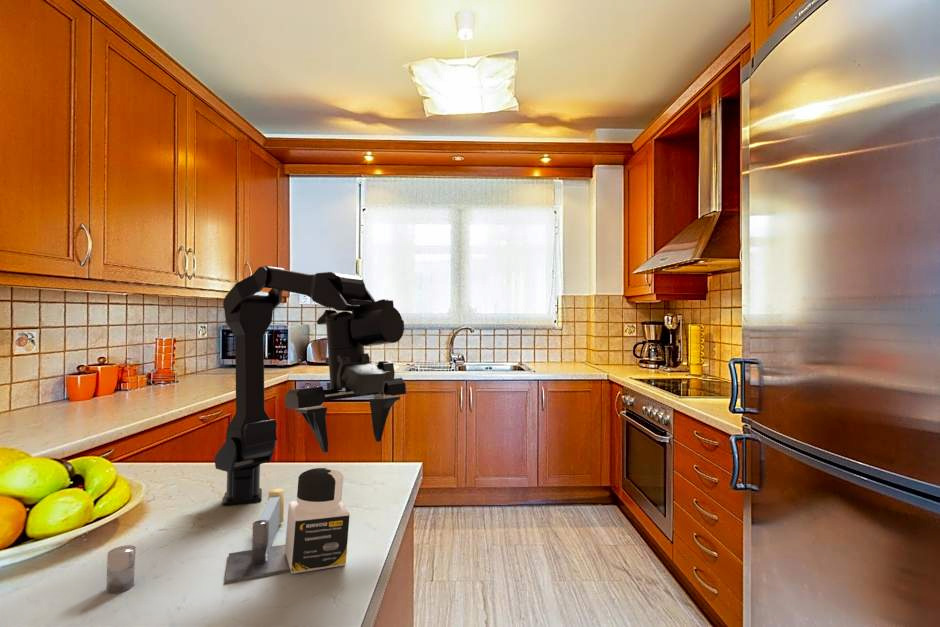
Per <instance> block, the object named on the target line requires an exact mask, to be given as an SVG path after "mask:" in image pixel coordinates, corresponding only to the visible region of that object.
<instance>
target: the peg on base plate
mask: <svg viewBox="0 0 940 627" xmlns="http://www.w3.org/2000/svg"><path fill="white" fill-rule="evenodd" d="M258 520H259V519H258ZM258 520H256V521H254V522H252V535H251V536H252V538H251V540H252V541H251V543H252V545H251V549H248V550H242V551H236V552H229V553H228V557H227V558H228V559H227V566H226V572H225V579H224V584H230V583H235V582H242V581H247V580H254V579H258V578H263V577H270V576H274V574H275V575H280V573H281V574H286V573H289V572H288V571H291V570H290V567H289V563H288V560H287V557H286V553H285V544H279V545H273V546H272V545H271V547H270V550H269V552H268V526H269V521H267V520H259V521H258ZM285 572H286V573H285ZM269 575H270V576H269Z"/></svg>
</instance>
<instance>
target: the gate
mask: <svg viewBox="0 0 940 627" xmlns="http://www.w3.org/2000/svg"><path fill="white" fill-rule="evenodd" d="M267 493H268V494H267V495H268V496H267V498H268V499H267V500H268V501H267V502H266V504H265V506H264V508H263V510H262V512H261V514H260V516H259V518H258V520H257V521H259V520H267V521H269V526H268V552H269V550H270V547H272V544H273V542H274V540H275V536H276V534H277V532H278V529H279V527H280V524H282V523H283V522H284V519H285V518H284V514H285V512H284V511H285V510H284V508H285V490H284V489H283V488H273V489H270V490H268V492H267Z"/></svg>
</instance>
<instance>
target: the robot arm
mask: <svg viewBox="0 0 940 627" xmlns="http://www.w3.org/2000/svg"><path fill="white" fill-rule="evenodd" d="M263 289H270V290H269V291H268V292H267V291H263ZM283 291H284V292H289V293H294V294H299V295H301V296H302V295H303V296H307V297H309V298H310V299H311V300H312V302H314V303H317V304H319V305H320V306H322V307H325V308H332V309H325V310H324V312H323V314H322V315H320V316H319V317H318V318H317V321H316V323H317V325H320V326H321V325H322V326H325V325H326V339H327V340H326V342H327V343H326V344H327V353H328V354H327V357H324V358H325V360H324V361H325V362H324V363H325V365H327V364H328V369H329V371H328V372H329V382H326V389H324V388H323V386H311V387H302V388H301V387H299V388H292V389H289V390H288V391H287V392H286V395H285V398H284V399H285V408H286V409H294V414H301V416H302V417H303V418H304V420H305V421H306V422H307V424H308V426H309V428H310V429H311V431H312V434H313V435H314V437H315V439H316V441H317V442H318V445H319V447H320V449H321V451H322V453H324V454H325V453H329V437H328V430H327V422H326V421H327V420H326V416H327V412H328V406H327V407H326V406H323V404H324V402H327V401H336V400H341V399H342V400H343V399H350V398H351V399H352V398H357V397H365V396H373V398H369V406H370V407H369V408H370V417H371V421H372V422H371V423H372V432H373V437H374V439H375V442H376V443H381V442H382V437H383V435H384V431H385V427H386V423H387V419H388V416H389V413H390V410H391V408H392V407H393V405H394V404H395V403H396V402H397V401H401V400H400V399H401V398H402V397H401V396H402V395H406V394H408V390H407V383H406V382H405V380H404V379H403V377H397V378H396V377H395V366H394V362H393V361H391V360H380V361H378V363H376V364H373V363H371V361H370V360H371V359H370V355H369V353H366V352H365V347H372V346H379V345H388V344H395V343H397V342H399V341H400V340H401V339H402V338H403V336H404V332H405V322H404V320H403V318H402V316H401V314H400V312H399V310H398V309H397V308H395V307H394V305H395V304H394V300H393V299H385V298H383V299H379V300H376V299H375V298H374V296H372V294H371V293H370V291H369V290H368V289H367V287H366V284H365V282H364V279H363V278H362V277H361V276H359V275H353V274H346V273H339V272H334V271H325V272H316V273H314V274H311V273H304V272H299V271H293V270H287V269H285V268H283V267H277V266H270V265H263V266H260V267H258V268H257V269H256V270H255V271H254V273H253V274H251V275H250V276H248V277H246V278H244V279H242V280H240V281H238V282H236V283H235V284H234V285H233V287H232V288H231V289H230V290H229V291H228V293H227V294H226V295H225V296H224V298H223V302H222V303H223V304H222V307H223V310H224V311H223V312H224V318H225V323H226V325H227V326H228V328H229V329H230V331H231V332H232V334H233V336H234V341H235V343H234V345H235V348H234V350H235V352H234V353H235V358H234V359H235V361H234V362H235V414H234V416H233V418H232V419H231V421H230V422H229V424H228V426H227V428H226V433H225V441H224V443H223V445H221V448H220V449H219V450H218V451H217V453H216V454H215V456H214V458H213V460H214V466H215V469H216V470H219V471H223V472H226V491H225V492H224V495H223V500H222V506H229V505H238V504H246V503H255V502H256V503H257V502H261V501H262V500H263V499H262V498H263V495H262V494H263V491H262V490H263V489H262V487H261V486H260V484H261V481H260V480H261V465H262V464H266V463H271V461H272V457H273V455H274V451H275V447H276V443H277V441H278V436H277V424H278V423H277V421H276V419H275V418H273V419H271V417H270V416H269V415H268V414H267V412H266V408H265V401H266V400H265V356H264V354H265V347H264V346H265V343H264V339H265V338H264V336H265V334H266V332H267V331H268V330H269V329H268V328H269V327H270V325H271V324H272V322H273V315H274V314H273V313H274V311H275V309H276V308H277V307H278V306H279V305H280V304H281V303H282V299H283V298H282V296H283ZM343 389H344V391H343ZM400 395H401V396H400ZM260 487H261V488H260Z"/></svg>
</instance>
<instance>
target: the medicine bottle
mask: <svg viewBox="0 0 940 627" xmlns="http://www.w3.org/2000/svg"><path fill="white" fill-rule="evenodd" d="M297 479H298V480H297V489H296V490H297V493H296V500H292V501H290V502H288V510H287V520H286V530H285V531H286V532H285V533H286V534H285V544H284V545H285V553H286V557H287V560H288V563H289V567H290V570H291V572H290V573H291V574H298V573H304V572H312V571H317V570H324V569H331V568H332V569H333V568H338V567H343V566H345V565H346V564H347V556H348V543H349V542H348V540H349V526H350V512H349V510H348V508H346V506H345V505H344V503H343V501H342V500H343V499H342V498H343V484H344V475H343V473H342V472H340V471H338V470H336V469H333V468H328V467H317V468H310V469H308V470H305V471H303V472H301V474H299V476H298V478H297Z"/></svg>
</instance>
